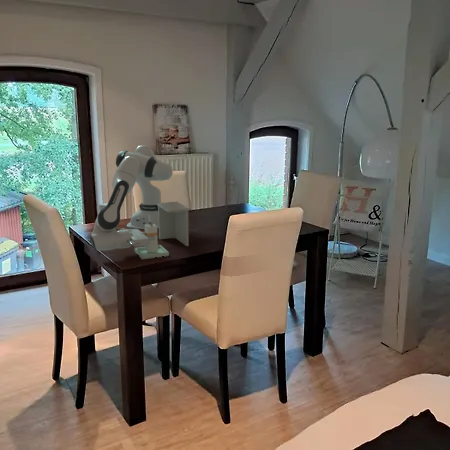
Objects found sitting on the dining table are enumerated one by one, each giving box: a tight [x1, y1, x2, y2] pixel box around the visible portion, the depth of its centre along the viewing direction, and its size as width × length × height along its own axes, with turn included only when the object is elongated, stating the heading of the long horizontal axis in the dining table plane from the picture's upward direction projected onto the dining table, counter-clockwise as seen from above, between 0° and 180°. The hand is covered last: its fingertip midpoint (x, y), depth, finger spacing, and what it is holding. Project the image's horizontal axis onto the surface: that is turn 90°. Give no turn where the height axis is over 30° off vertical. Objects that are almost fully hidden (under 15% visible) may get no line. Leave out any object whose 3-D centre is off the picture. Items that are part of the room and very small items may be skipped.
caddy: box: [144, 222, 159, 253], centre depth 242 cm, size 5×5×14 cm
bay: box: [157, 201, 190, 247], centre depth 262 cm, size 11×20×20 cm, turn 25°
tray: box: [134, 244, 170, 260], centre depth 244 cm, size 14×14×2 cm
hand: (152, 235), depth 243 cm, fingers closed on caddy, 5 cm apart
